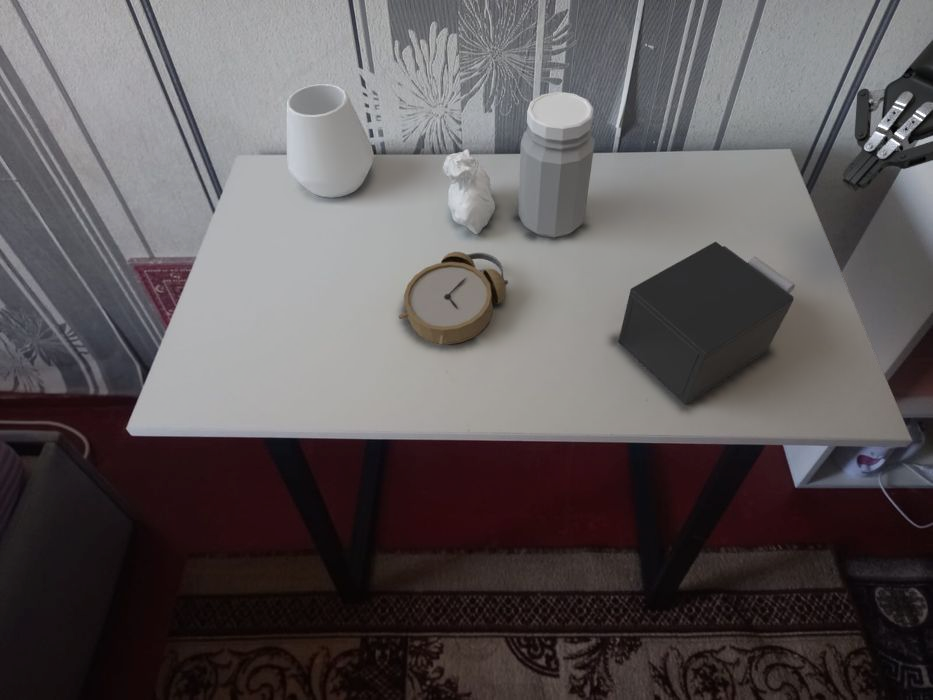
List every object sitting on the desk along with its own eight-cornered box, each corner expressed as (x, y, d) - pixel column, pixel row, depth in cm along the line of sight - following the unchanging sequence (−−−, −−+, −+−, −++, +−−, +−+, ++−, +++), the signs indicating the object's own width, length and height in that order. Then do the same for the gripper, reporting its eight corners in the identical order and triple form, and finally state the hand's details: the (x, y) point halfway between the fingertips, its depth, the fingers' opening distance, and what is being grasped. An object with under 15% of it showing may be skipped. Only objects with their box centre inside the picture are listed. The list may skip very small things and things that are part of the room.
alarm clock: (384, 304, 83) (458, 226, 88) (393, 324, 87) (463, 249, 92) (451, 346, 78) (525, 262, 83) (457, 366, 83) (527, 285, 87)
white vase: (276, 183, 104) (250, 103, 93) (339, 144, 110) (322, 65, 99) (331, 218, 98) (310, 137, 88) (395, 175, 104) (383, 95, 93)
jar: (588, 240, 93) (604, 129, 79) (519, 242, 94) (523, 132, 80) (580, 197, 99) (594, 86, 85) (516, 198, 100) (519, 89, 86)
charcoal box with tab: (696, 295, 86) (715, 241, 79) (766, 352, 80) (794, 299, 72) (618, 341, 82) (630, 288, 74) (685, 405, 76) (706, 354, 68)
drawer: (731, 276, 87) (749, 231, 81) (795, 324, 81) (819, 281, 75) (636, 331, 82) (647, 288, 75) (697, 388, 76) (715, 346, 70)
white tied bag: (476, 201, 103) (429, 149, 97) (515, 179, 99) (468, 124, 93) (463, 253, 96) (411, 200, 90) (504, 232, 91) (452, 176, 85)
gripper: (1032, 91, 69) (903, 226, 75) (917, 43, 76) (807, 169, 82) (1037, 58, 63) (897, 206, 69) (911, 8, 70) (794, 147, 76)
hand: (848, 186), depth 75 cm, fingers closed
